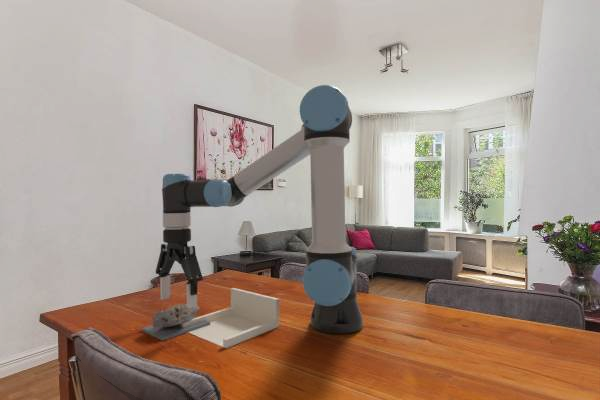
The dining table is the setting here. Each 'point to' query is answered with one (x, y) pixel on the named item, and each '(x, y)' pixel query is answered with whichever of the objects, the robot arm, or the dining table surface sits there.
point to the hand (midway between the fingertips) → (178, 302)
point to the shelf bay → (239, 319)
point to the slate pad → (173, 330)
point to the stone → (174, 315)
